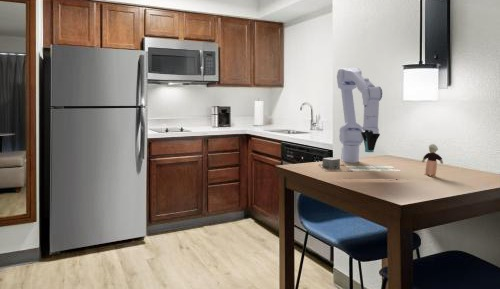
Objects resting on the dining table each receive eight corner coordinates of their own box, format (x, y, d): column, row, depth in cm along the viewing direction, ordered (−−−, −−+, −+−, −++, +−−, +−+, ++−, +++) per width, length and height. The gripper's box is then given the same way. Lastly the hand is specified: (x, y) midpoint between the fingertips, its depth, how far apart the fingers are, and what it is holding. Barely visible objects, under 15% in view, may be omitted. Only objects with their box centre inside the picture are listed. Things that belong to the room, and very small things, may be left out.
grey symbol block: (322, 170, 164) (322, 158, 163) (331, 168, 166) (331, 157, 166) (330, 172, 159) (331, 159, 159) (339, 170, 162) (340, 159, 162)
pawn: (363, 151, 162) (364, 134, 161) (372, 151, 162) (372, 134, 161) (366, 152, 159) (367, 135, 158) (374, 152, 159) (375, 135, 158)
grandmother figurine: (420, 176, 152) (422, 143, 151) (421, 174, 156) (423, 142, 154) (442, 178, 149) (444, 145, 147) (442, 176, 152) (444, 144, 150)
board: (318, 167, 168) (318, 164, 168) (389, 168, 169) (389, 164, 169) (325, 174, 154) (325, 170, 154) (402, 174, 155) (403, 171, 155)
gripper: (356, 115, 166) (354, 147, 168) (366, 117, 152) (365, 151, 153) (372, 115, 166) (371, 147, 168) (384, 117, 152) (382, 152, 153)
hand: (369, 149), depth 160 cm, fingers closed on pawn, 3 cm apart
